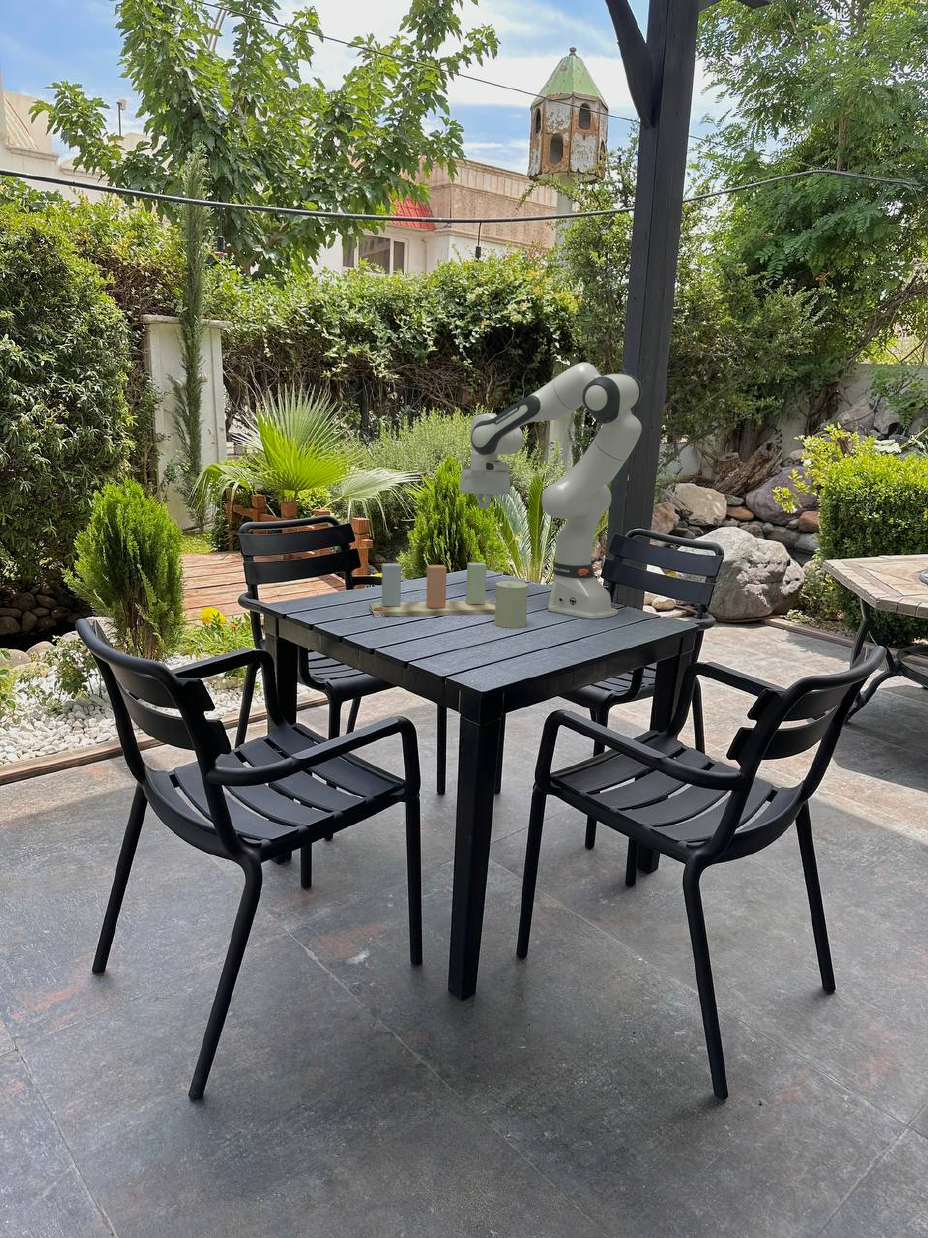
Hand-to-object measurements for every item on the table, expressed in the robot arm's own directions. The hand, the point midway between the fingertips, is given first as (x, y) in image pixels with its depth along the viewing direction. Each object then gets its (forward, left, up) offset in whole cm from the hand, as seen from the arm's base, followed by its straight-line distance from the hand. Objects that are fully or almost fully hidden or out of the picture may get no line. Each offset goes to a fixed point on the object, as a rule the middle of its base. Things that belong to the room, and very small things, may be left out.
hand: (483, 508), depth 258 cm
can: (-36, +21, -28) cm, 50 cm away
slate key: (-4, +40, -26) cm, 48 cm away
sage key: (-16, +17, -26) cm, 35 cm away
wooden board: (-12, +29, -28) cm, 42 cm away
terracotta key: (-13, +30, -26) cm, 42 cm away
